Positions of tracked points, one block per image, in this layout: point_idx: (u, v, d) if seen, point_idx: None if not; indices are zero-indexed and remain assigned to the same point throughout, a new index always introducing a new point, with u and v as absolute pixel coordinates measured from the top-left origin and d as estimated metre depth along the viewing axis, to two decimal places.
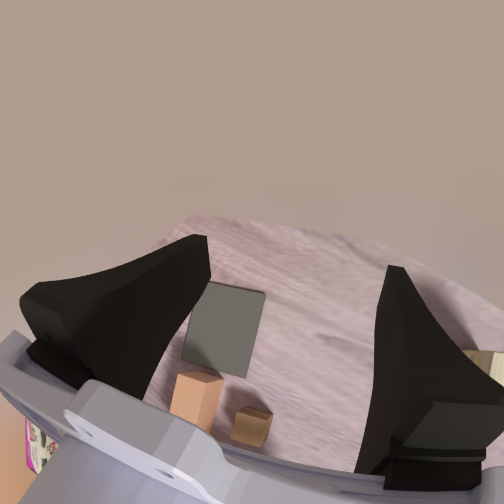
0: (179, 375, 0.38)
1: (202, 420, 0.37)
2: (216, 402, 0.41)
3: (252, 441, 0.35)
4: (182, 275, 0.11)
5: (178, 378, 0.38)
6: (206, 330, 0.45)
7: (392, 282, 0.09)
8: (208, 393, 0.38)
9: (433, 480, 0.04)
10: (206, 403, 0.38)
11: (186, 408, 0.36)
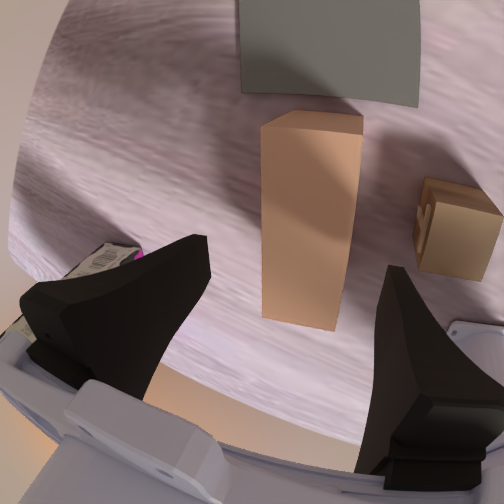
0: (266, 130, 0.12)
1: None
2: None
3: (468, 270, 0.14)
4: (182, 275, 0.11)
5: (265, 141, 0.12)
6: (289, 9, 0.13)
7: (392, 282, 0.09)
8: None
9: (433, 480, 0.04)
10: None
11: (312, 226, 0.14)
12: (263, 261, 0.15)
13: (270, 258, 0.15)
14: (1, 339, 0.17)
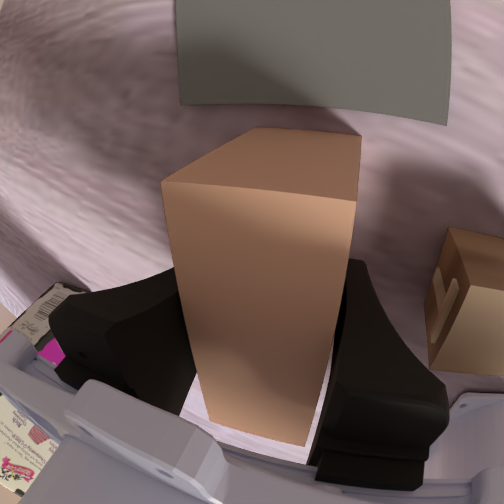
0: (171, 189, 0.07)
1: None
2: None
3: (497, 366, 0.09)
4: None
5: (172, 207, 0.07)
6: None
7: (346, 274, 0.10)
8: None
9: (366, 476, 0.05)
10: None
11: (263, 343, 0.08)
12: (198, 371, 0.10)
13: (207, 369, 0.10)
14: None
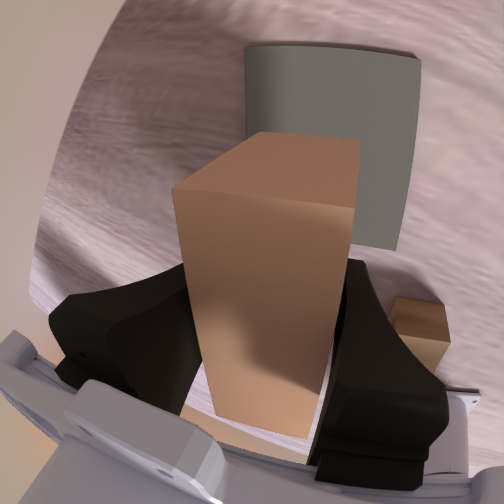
0: (182, 196, 0.07)
1: None
2: None
3: None
4: None
5: (183, 212, 0.07)
6: None
7: (346, 274, 0.10)
8: None
9: (366, 476, 0.05)
10: None
11: (268, 339, 0.09)
12: (206, 366, 0.10)
13: (214, 365, 0.10)
14: None
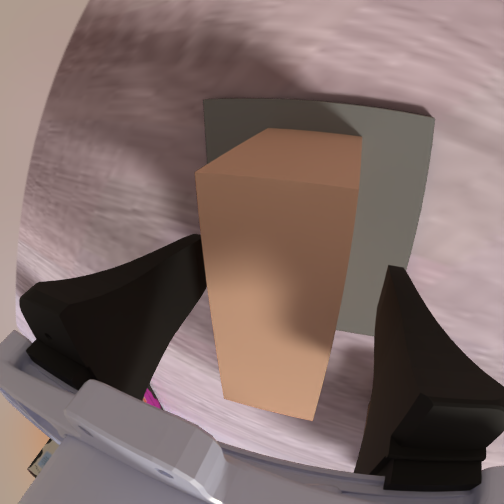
0: (204, 179, 0.08)
1: None
2: None
3: None
4: (182, 275, 0.11)
5: (204, 195, 0.08)
6: None
7: (392, 282, 0.09)
8: None
9: (433, 480, 0.04)
10: None
11: (278, 315, 0.09)
12: (217, 346, 0.11)
13: (226, 344, 0.11)
14: (41, 457, 0.19)
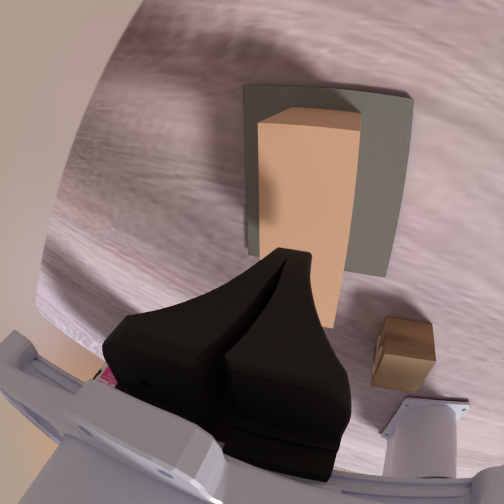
0: (264, 127, 0.12)
1: None
2: (356, 175, 0.17)
3: (407, 386, 0.21)
4: None
5: (263, 137, 0.12)
6: None
7: (285, 264, 0.10)
8: None
9: (270, 458, 0.05)
10: None
11: (309, 223, 0.14)
12: (261, 257, 0.15)
13: None
14: None
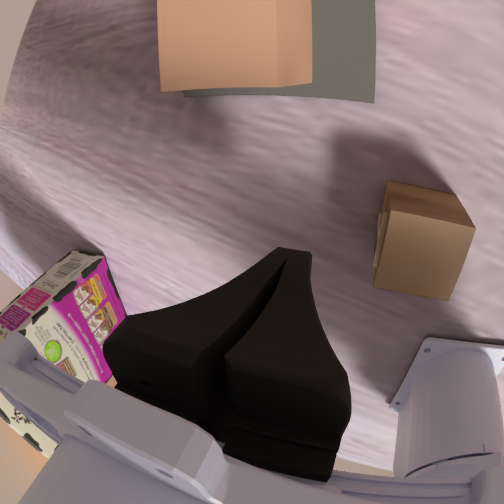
0: None
1: None
2: None
3: (433, 288, 0.13)
4: None
5: None
6: None
7: (285, 264, 0.10)
8: None
9: (270, 458, 0.05)
10: None
11: None
12: None
13: None
14: None
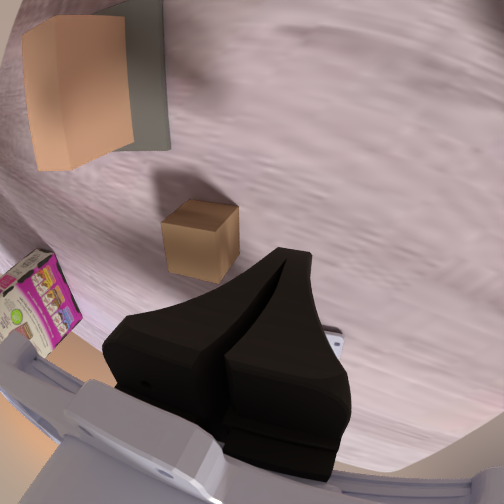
0: (23, 36, 0.13)
1: (82, 95, 0.16)
2: (118, 60, 0.18)
3: (204, 273, 0.22)
4: None
5: (23, 42, 0.13)
6: None
7: (285, 264, 0.10)
8: (76, 37, 0.14)
9: (270, 458, 0.05)
10: (78, 57, 0.14)
11: (42, 84, 0.14)
12: (29, 121, 0.16)
13: (31, 117, 0.16)
14: None
